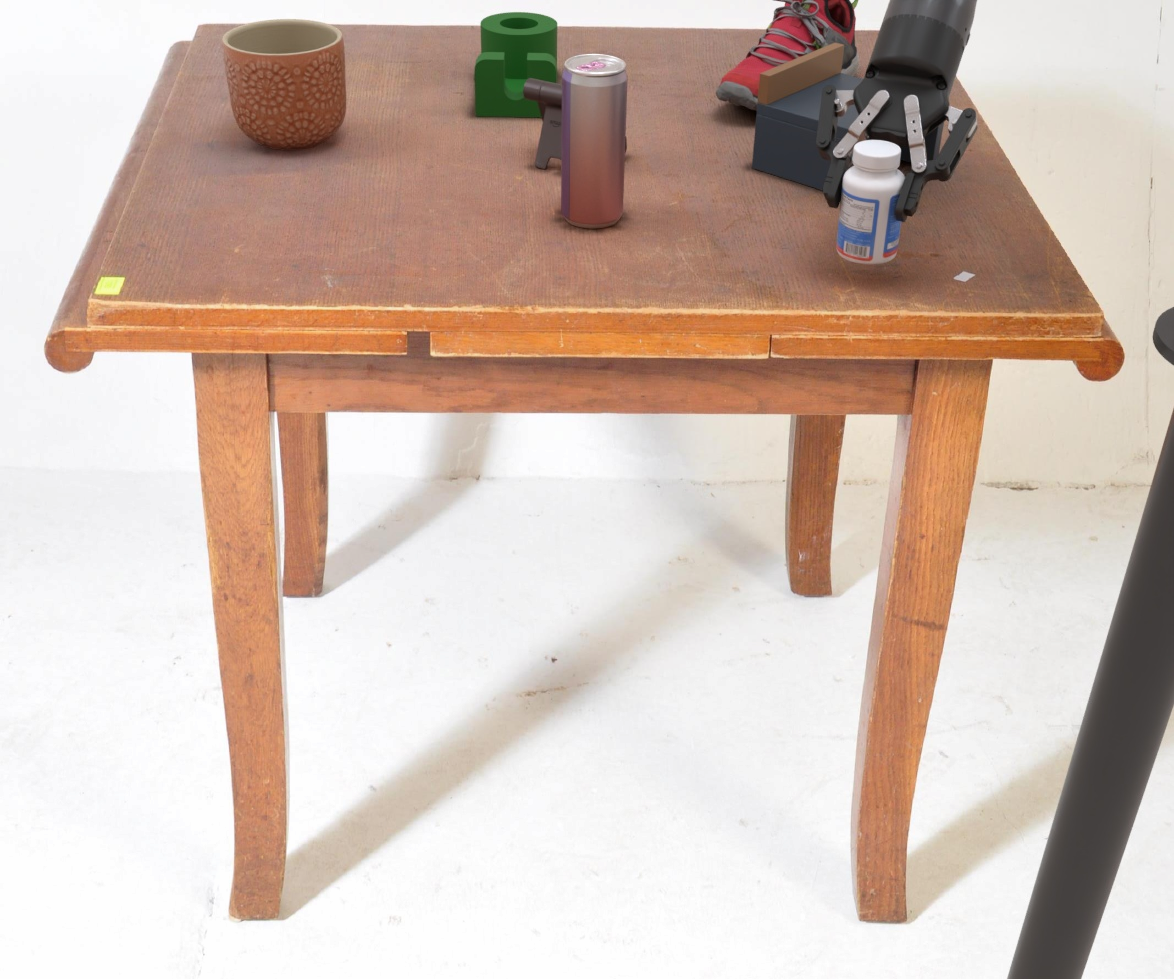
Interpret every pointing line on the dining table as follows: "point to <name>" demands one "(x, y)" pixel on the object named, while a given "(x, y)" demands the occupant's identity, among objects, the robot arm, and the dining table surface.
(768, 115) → the shelf
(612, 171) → the beverage can
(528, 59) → the slotted cylinder bracket
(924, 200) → the dining table surface
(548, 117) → the tablet stand
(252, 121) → the planter
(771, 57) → the athletic shoe
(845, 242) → the pill bottle
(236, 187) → the dining table surface
